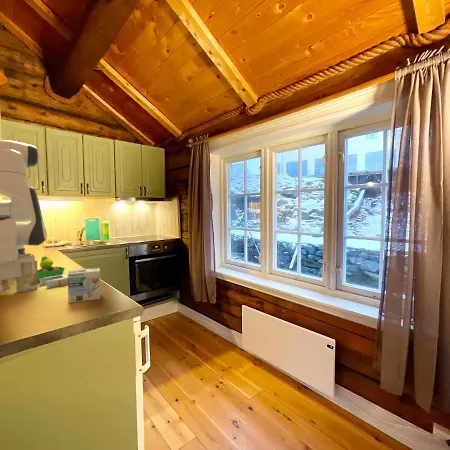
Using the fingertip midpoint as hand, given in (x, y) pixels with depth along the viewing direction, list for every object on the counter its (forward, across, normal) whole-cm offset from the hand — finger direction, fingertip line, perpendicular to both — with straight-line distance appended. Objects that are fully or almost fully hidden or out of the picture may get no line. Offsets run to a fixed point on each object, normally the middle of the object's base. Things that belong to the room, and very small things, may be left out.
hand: (5, 290), depth 103 cm
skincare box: (+2, -7, 0) cm, 8 cm away
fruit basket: (+2, -20, -13) cm, 24 cm away
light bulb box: (+2, -16, +32) cm, 36 cm away
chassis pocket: (+2, -20, 0) cm, 20 cm away
